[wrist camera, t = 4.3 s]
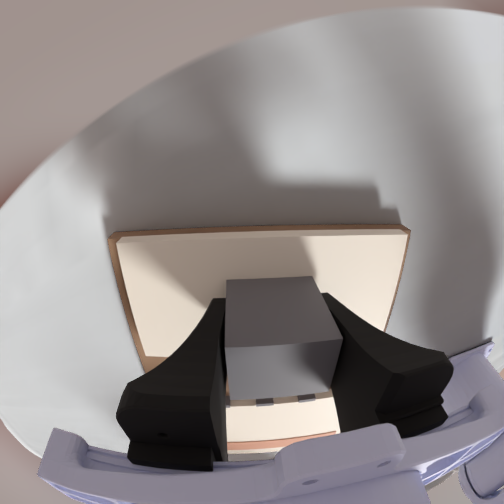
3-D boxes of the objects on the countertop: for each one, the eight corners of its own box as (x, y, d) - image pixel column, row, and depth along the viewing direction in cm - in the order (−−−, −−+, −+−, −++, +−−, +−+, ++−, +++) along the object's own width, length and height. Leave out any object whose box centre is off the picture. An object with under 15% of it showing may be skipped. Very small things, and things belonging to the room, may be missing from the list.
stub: (375, 333, 16) (410, 395, 11) (148, 346, 15) (128, 418, 10) (399, 229, 13) (463, 277, 8) (122, 236, 12) (70, 296, 8)
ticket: (332, 436, 22) (334, 443, 21) (188, 446, 21) (187, 454, 21) (355, 382, 18) (359, 390, 18) (166, 394, 18) (164, 404, 17)
